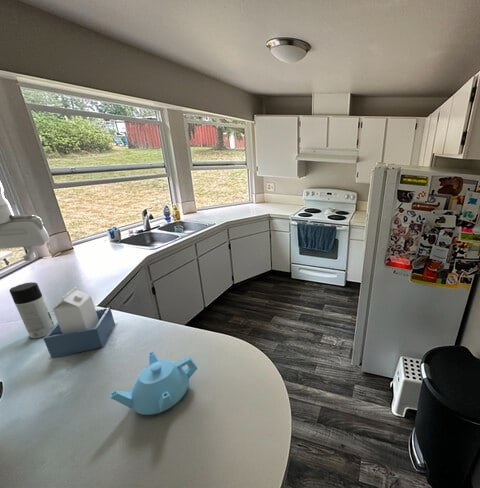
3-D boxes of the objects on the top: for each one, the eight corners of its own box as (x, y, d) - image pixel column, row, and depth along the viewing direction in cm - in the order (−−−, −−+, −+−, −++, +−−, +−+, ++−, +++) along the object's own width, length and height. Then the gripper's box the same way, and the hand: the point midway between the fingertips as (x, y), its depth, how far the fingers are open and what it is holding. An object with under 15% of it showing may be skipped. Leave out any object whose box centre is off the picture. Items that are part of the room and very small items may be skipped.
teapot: (170, 425, 64) (163, 394, 61) (114, 420, 65) (104, 389, 61) (201, 376, 79) (197, 348, 75) (155, 372, 79) (149, 345, 76)
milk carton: (66, 345, 87) (48, 298, 81) (79, 332, 94) (63, 288, 87) (91, 342, 89) (75, 296, 83) (102, 329, 95) (88, 286, 89)
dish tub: (51, 358, 83) (43, 338, 80) (70, 332, 95) (64, 314, 92) (102, 347, 88) (96, 328, 86) (115, 324, 100) (110, 307, 97)
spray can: (60, 329, 96) (42, 283, 90) (37, 340, 90) (16, 292, 84) (48, 325, 98) (29, 280, 91) (24, 337, 92) (3, 289, 85)
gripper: (45, 211, 75) (60, 254, 80) (-56, 215, 68) (-33, 262, 72) (32, 216, 70) (49, 261, 75) (-80, 221, 62) (-53, 271, 67)
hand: (8, 262), depth 73 cm, fingers open, 8 cm apart
